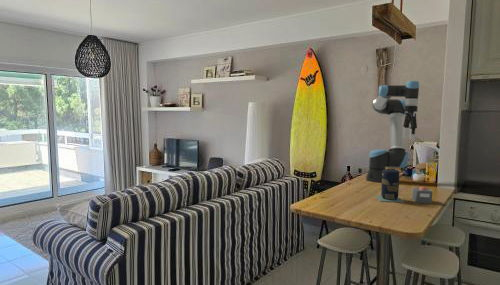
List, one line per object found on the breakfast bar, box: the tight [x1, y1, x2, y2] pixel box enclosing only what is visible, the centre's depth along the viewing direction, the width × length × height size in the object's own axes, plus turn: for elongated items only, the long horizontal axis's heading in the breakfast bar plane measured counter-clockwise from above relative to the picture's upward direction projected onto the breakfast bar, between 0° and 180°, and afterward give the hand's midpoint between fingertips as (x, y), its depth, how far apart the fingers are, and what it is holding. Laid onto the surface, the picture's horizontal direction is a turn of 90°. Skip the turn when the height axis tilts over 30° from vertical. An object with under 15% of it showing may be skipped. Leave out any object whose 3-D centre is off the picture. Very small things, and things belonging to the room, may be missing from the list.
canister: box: [380, 167, 400, 199], centre depth 201 cm, size 10×10×18 cm
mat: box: [375, 194, 405, 203], centre depth 201 cm, size 12×13×1 cm
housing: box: [411, 187, 433, 204], centre depth 198 cm, size 8×8×7 cm
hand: (409, 138), depth 220 cm, fingers open, 13 cm apart
